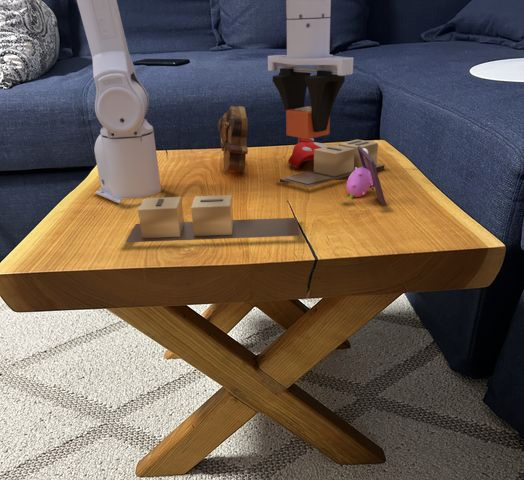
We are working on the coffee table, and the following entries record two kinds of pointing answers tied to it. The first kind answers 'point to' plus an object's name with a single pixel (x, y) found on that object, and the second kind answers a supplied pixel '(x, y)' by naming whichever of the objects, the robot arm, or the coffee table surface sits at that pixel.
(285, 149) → the coffee table surface
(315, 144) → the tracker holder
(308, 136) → the terracotta cube
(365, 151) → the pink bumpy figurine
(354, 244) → the coffee table surface
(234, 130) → the wooden carving
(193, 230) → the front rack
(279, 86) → the robot arm
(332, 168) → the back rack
